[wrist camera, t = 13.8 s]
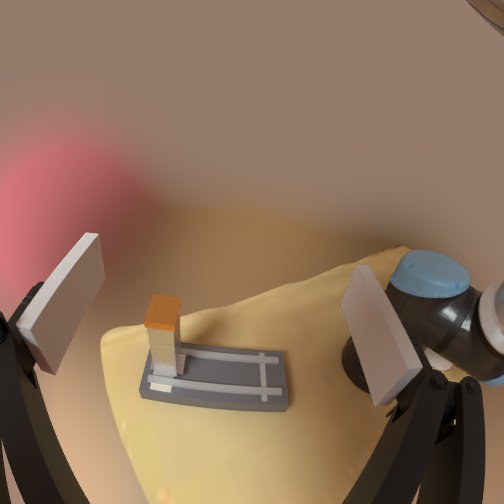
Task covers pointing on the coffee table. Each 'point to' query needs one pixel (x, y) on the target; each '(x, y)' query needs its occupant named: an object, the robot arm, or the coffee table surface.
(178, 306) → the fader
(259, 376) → the console
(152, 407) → the coffee table surface
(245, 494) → the coffee table surface
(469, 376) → the robot arm
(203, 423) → the coffee table surface
